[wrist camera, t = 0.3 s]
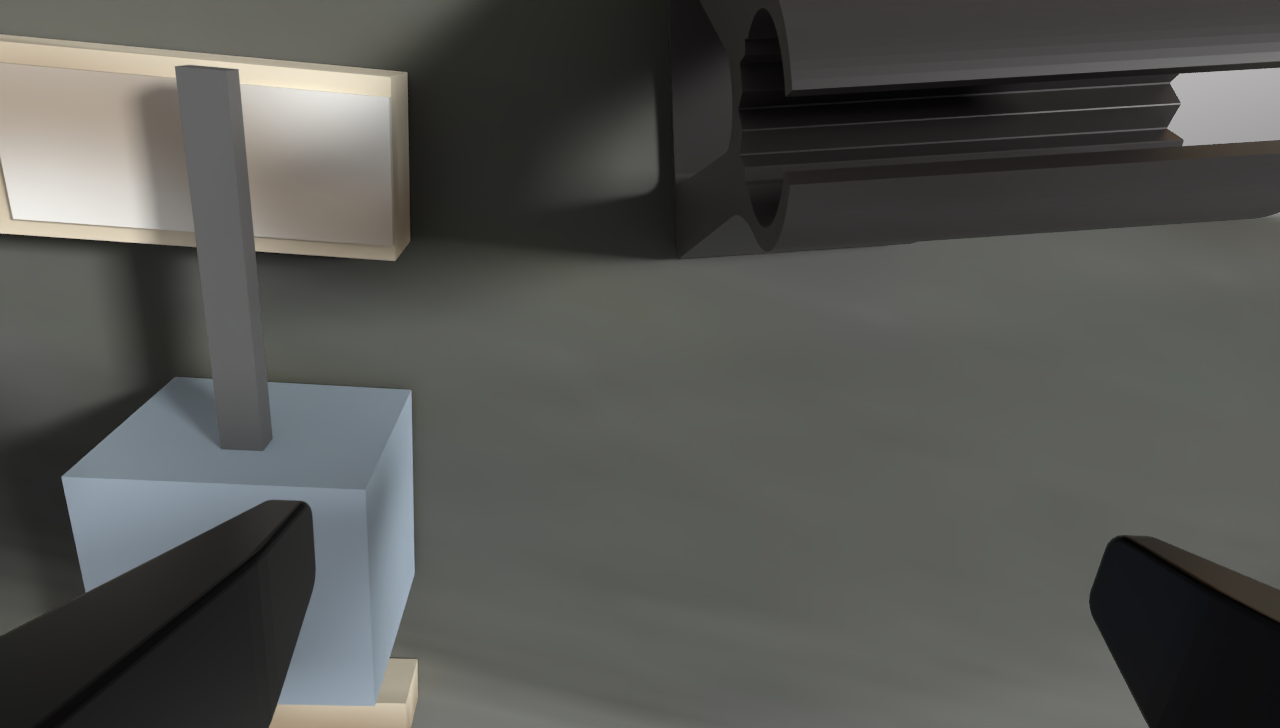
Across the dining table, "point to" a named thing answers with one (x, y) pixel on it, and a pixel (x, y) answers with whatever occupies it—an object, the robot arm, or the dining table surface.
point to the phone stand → (952, 119)
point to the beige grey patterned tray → (160, 196)
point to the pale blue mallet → (258, 442)
